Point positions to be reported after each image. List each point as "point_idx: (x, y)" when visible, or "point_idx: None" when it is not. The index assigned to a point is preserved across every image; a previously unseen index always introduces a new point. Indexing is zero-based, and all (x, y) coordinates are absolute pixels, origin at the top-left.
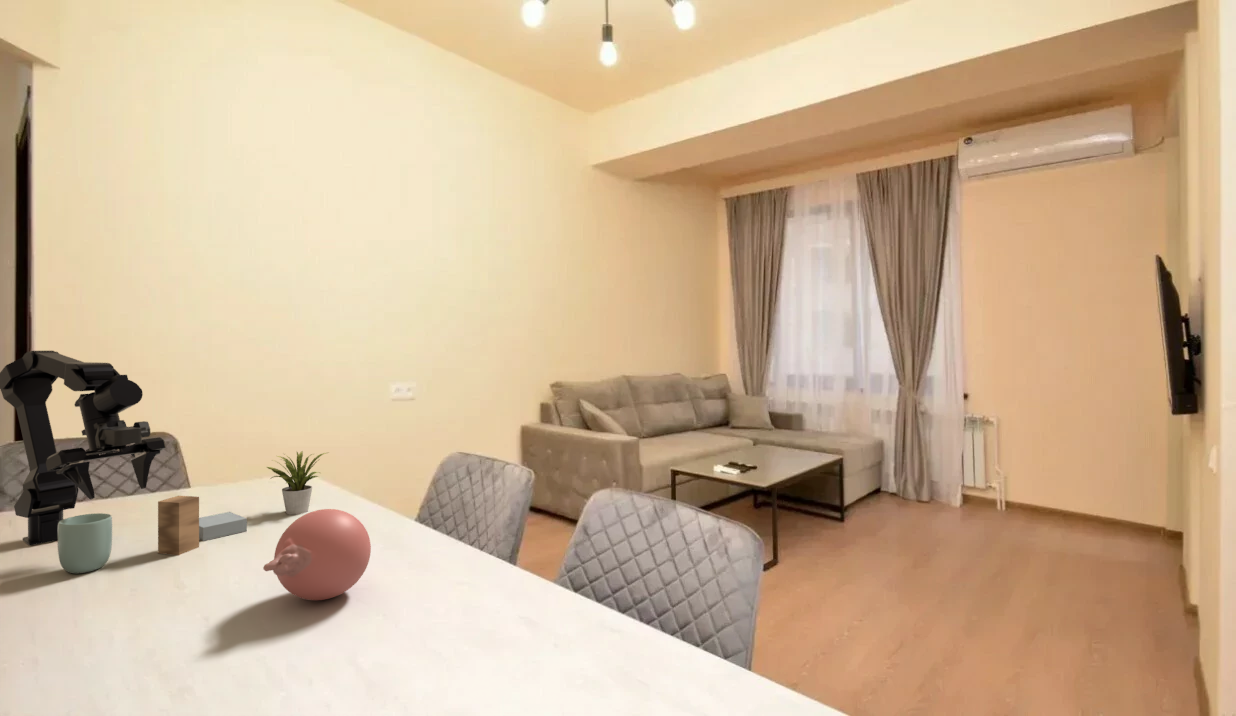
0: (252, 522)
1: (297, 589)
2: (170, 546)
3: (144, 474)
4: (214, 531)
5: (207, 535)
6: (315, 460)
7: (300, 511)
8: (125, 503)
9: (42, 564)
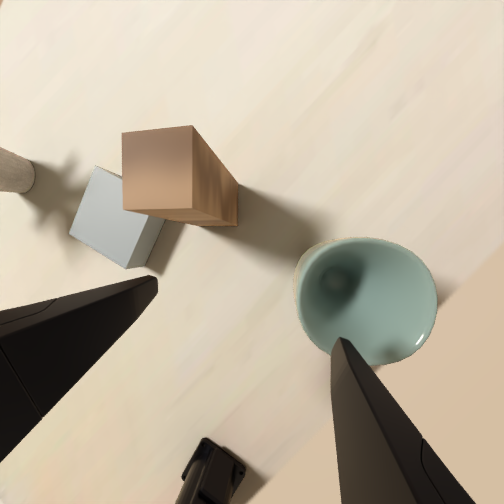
0: None
1: None
2: (234, 197)
3: (95, 298)
4: None
5: None
6: None
7: (23, 158)
8: (42, 493)
9: (317, 370)
